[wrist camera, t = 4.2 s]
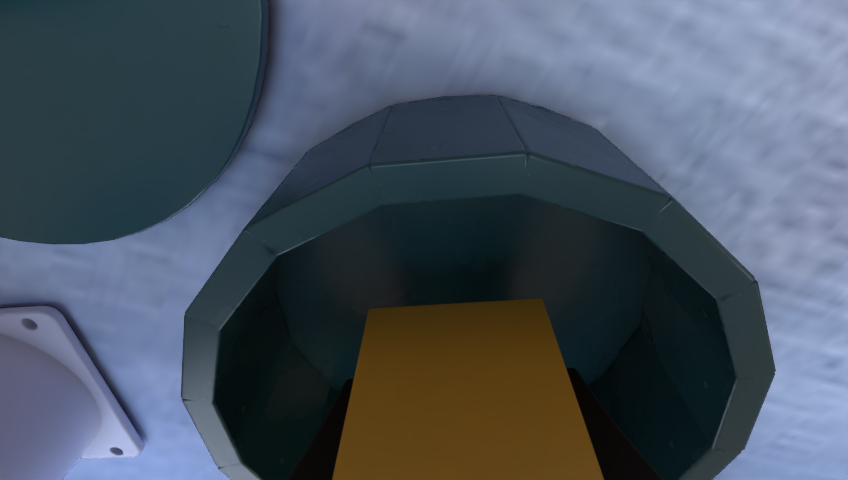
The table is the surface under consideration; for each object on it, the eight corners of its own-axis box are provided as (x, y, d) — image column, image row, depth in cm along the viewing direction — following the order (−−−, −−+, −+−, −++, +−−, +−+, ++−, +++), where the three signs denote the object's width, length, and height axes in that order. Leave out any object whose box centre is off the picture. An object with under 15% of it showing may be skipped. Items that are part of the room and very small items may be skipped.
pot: (308, 436, 19) (270, 569, 15) (199, 118, 12) (68, 189, 8) (635, 424, 18) (698, 563, 14) (709, 71, 11) (880, 122, 7)
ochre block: (390, 422, 14) (369, 621, 9) (368, 307, 12) (326, 498, 7) (537, 415, 13) (584, 619, 9) (542, 296, 11) (609, 491, 7)
